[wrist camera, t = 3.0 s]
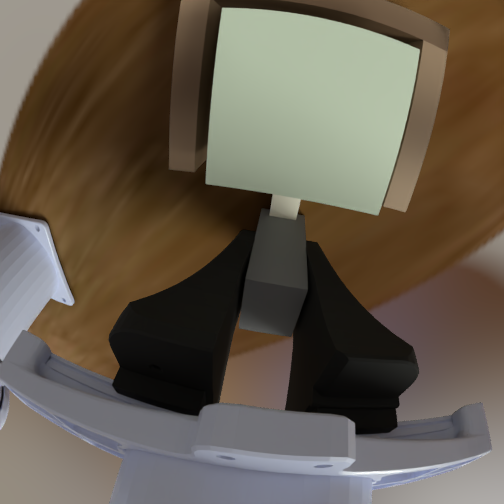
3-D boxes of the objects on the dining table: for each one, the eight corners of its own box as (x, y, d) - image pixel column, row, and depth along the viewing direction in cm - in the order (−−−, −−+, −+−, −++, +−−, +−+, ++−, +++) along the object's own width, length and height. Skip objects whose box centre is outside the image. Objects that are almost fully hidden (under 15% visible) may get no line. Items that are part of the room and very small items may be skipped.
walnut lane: (205, -8, 7) (185, -24, 5) (422, 34, 7) (449, 29, 5) (189, 152, 12) (169, 169, 10) (387, 188, 11) (405, 212, 9)
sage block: (248, 34, 8) (217, 3, 4) (373, 58, 8) (428, 48, 4) (226, 246, 14) (199, 320, 10) (321, 263, 14) (328, 341, 10)
